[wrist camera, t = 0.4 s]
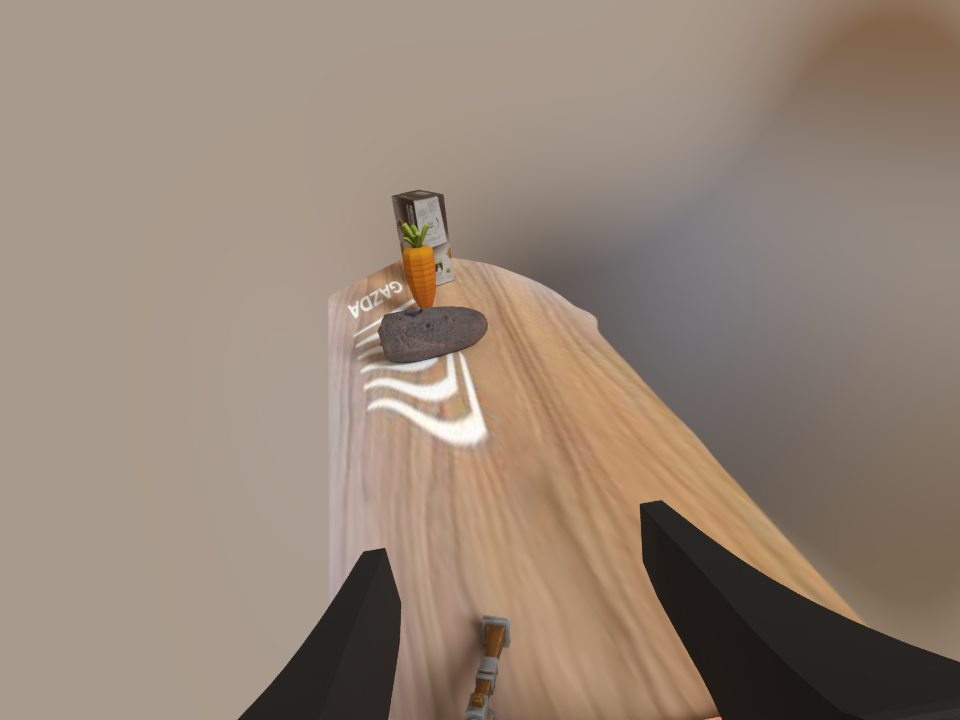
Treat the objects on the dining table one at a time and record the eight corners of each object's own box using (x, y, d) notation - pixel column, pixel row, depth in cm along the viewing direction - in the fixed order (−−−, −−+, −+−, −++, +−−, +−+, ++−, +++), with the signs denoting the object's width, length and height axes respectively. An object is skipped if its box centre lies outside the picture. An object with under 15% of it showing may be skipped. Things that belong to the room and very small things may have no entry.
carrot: (447, 309, 79) (435, 218, 72) (433, 321, 75) (418, 226, 68) (422, 306, 81) (407, 217, 74) (406, 318, 77) (389, 226, 70)
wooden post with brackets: (455, 798, 23) (454, 714, 23) (483, 676, 31) (482, 612, 31) (491, 805, 23) (490, 720, 23) (510, 680, 31) (510, 615, 31)
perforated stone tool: (484, 335, 70) (480, 291, 67) (495, 350, 65) (491, 304, 62) (382, 356, 67) (373, 310, 64) (386, 373, 63) (376, 326, 59)
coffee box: (455, 280, 91) (445, 193, 83) (427, 289, 88) (413, 200, 80) (431, 270, 98) (419, 188, 90) (404, 278, 95) (389, 195, 87)
